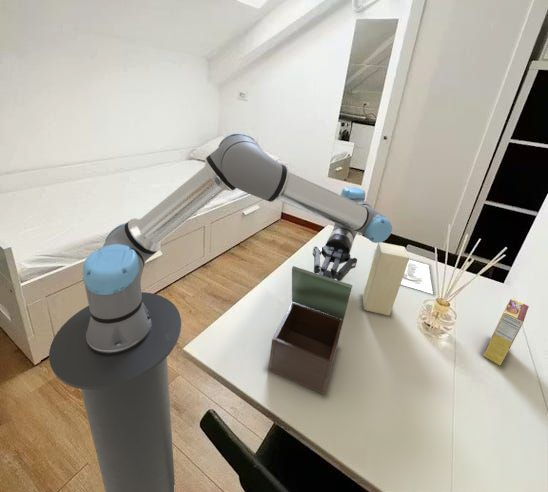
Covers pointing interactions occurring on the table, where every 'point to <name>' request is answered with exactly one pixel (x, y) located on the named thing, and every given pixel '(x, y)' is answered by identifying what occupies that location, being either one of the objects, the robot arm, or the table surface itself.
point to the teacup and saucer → (417, 276)
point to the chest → (305, 346)
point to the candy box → (506, 331)
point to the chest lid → (320, 292)
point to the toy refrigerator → (385, 278)
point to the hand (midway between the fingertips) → (320, 289)
